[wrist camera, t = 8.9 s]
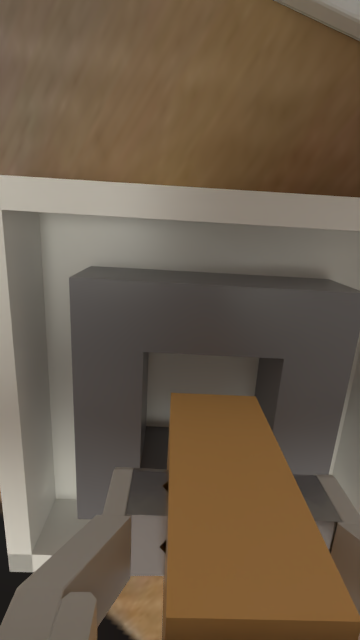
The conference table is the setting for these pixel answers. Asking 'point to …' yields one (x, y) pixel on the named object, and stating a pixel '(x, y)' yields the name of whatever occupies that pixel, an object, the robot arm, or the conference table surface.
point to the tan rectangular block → (243, 534)
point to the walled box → (165, 335)
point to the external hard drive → (330, 13)
